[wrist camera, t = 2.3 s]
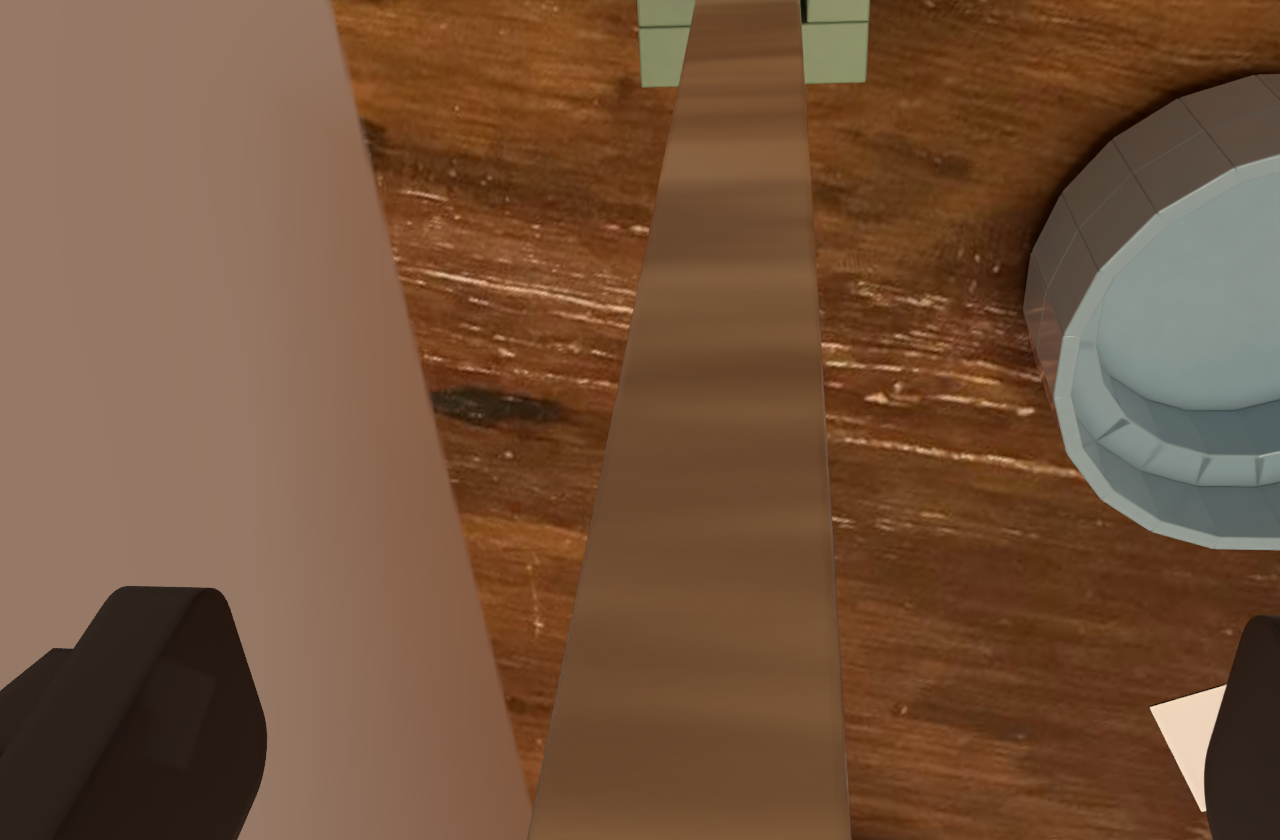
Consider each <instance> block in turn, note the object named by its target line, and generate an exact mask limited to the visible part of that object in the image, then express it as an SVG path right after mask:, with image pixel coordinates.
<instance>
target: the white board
mask: <svg viewBox="0 0 1280 840" xmlns="http://www.w3.org/2000/svg"><path fill="white" fill-rule="evenodd" d="M1226 686H1227V685H1224V686H1221V687H1217V688H1214V689H1210V690H1207V691H1204V692H1200V693H1197V694H1193V695H1190V696H1186V697H1183V698H1180V699H1176V700H1173V701H1169V702H1166V703H1162V704H1159V705H1156V706H1152V707H1149V708H1150V710H1151V712H1152V714H1153V716H1154V718H1155V720H1156V722H1157V724H1158V726H1159V728H1160V730H1161V732H1162V734H1163V736H1164V738H1165V740H1166V742H1167V744H1168V746H1169V748H1170V750H1171V752H1172V754H1173V756H1174V758H1175V760H1176V762H1177V764H1178V766H1179V768H1180V770H1181V772H1182V774H1183V776H1184V778H1185V780H1186V782H1187V784H1188V786H1189V788H1190V790H1191V792H1192V794H1193V796H1194V798H1195V800H1196V802H1197V804H1198V806H1199V808H1200V810H1201V812H1203V811H1206V804H1205V795H1204V767H1205V758H1206V753H1207V749H1208V745H1209V742H1210V739H1211V735H1212V732H1213V729H1214V725H1215V722H1216V719H1217V715H1218V712H1219V709H1220V705H1221V702H1222V699H1223V695H1224V692H1225V689H1226Z"/></svg>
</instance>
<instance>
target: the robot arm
mask: <svg viewBox="0 0 1280 840" xmlns="http://www.w3.org/2000/svg"><path fill="white" fill-rule="evenodd" d="M266 751H267V730H266V722H265V717H264V713H263V710H262V707H261V703H260V700H259V697H258V694H257V691H256V688H255V685H254V682H253V679H252V675H251V672H250V669H249V666H248V663H247V660H246V657H245V654H244V651H243V648H242V645H241V642H240V638H239V635H238V632H237V629H236V626H235V623H234V620H233V617H232V613H231V610H230V607H229V605H228V602H227V600H226V599H225V597H224V595H222V593H221V592H220V591H218V590H216V589H213V588H194V587H193V588H192V587H148V586H146V587H145V586H126V587H121V588H119V589H118V590H116V591H115V592H113V593H112V594H111V595H110V596H109V598H108V599H107V600H106V601H105V603H104V604H103V606H102V607H101V609H100V610H99V612H98V613H97V614H96V616H95V618H94V619H93V620H92V622H91V623H90V625H89V626H88V628H87V629H86V631H85V632H84V634H83V636H82V637H81V638H80V640H79V641H78V643H77V644H76V646H75V647H74V649H62V648H53V649H52V650H50V651H49V652H48V653H47V654H45V655H44V656H43V657H42V658H40V659H39V660H38V661H37V662H36V663H34V664H33V665H32V666H30V667H29V668H28V669H27V670H25V671H24V672H23V673H22V674H21V675H20V676H18V677H17V678H16V679H14V680H13V681H12V682H11V683H10V684H8V685H7V686H6V687H4V688H3V689H2V690H1V691H0V840H237V838H238V836H239V834H240V832H241V829H242V827H243V825H244V822H245V820H246V818H247V816H248V813H249V811H250V809H251V807H252V804H253V802H254V799H255V797H256V795H257V792H258V790H259V787H260V784H261V780H262V776H263V772H264V767H265V760H266ZM1204 795H1205V804H1206V811H1207V817H1208V822H1209V826H1210V830H1211V834H1212V837H1213V840H1280V616H1269V615H1259V616H1255V617H1253V618H1251V620H1250V621H1249V622H1248V623H1247V625H1246V627H1245V628H1244V631H1243V633H1242V636H1241V639H1240V642H1239V646H1238V649H1237V652H1236V656H1235V659H1234V662H1233V666H1232V669H1231V672H1230V676H1229V679H1228V682H1227V686H1226V689H1225V692H1224V695H1223V699H1222V702H1221V705H1220V709H1219V712H1218V715H1217V719H1216V722H1215V725H1214V729H1213V732H1212V735H1211V739H1210V742H1209V745H1208V749H1207V753H1206V758H1205V767H1204Z"/></svg>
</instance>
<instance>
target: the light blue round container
mask: <svg viewBox="0 0 1280 840" xmlns="http://www.w3.org/2000/svg"><path fill="white" fill-rule="evenodd" d="M1023 311H1024V313H1023V314H1024V318H1025V322H1026V326H1027V330H1028V335H1029V339H1030V343H1031V347H1032V351H1033V355H1034V359H1035V363H1036V366H1037V369H1038V372H1039V375H1040V378H1041V381H1042V384H1043V386H1044V389H1045V392H1046V395H1047V398H1048V401H1049V404H1050V407H1051V410H1052V413H1053V416H1054V419H1055V422H1056V425H1057V428H1058V431H1059V434H1060V436H1061V439H1062V442H1063V445H1064V448H1065V451H1066V453H1067V455H1068V457H1069V458H1070V459H1071V461H1072V462H1073V463H1074V465H1075V466H1076V467H1077V469H1078V470H1079V471H1080V473H1081V474H1082V475H1083V477H1084V478H1085V480H1086V481H1087V482H1088V484H1089V485H1090V486H1091V488H1092V489H1093V490H1094V492H1095V493H1096V494H1097V496H1098V497H1099V498H1100V499H1101V500H1102V501H1104V502H1105V503H1107V504H1109V505H1110V506H1112V507H1113V508H1115V509H1116V510H1118V511H1119V512H1121V513H1123V514H1124V515H1126V516H1127V517H1129V518H1130V519H1132V520H1133V521H1135V522H1137V523H1138V524H1140V525H1141V526H1143V527H1144V528H1146V529H1147V530H1149V531H1152V532H1154V533H1157V534H1161V535H1165V536H1168V537H1172V538H1175V539H1179V540H1183V541H1186V542H1190V543H1194V544H1197V545H1201V546H1204V547H1208V548H1212V549H1213V548H1214V549H1237V550H1280V74H1259V75H1257V76H1256V75H1252V76H1249V77H1245V78H1242V79H1239V80H1235V81H1232V82H1229V83H1226V84H1222V85H1219V86H1216V87H1213V88H1209V89H1206V90H1203V91H1200V92H1196V93H1193V94H1190V95H1187V96H1183V97H1181V98H1180V99H1176V100H1174V101H1173V102H1171V103H1169V104H1168V105H1166V106H1164V107H1163V108H1161V109H1160V110H1158V111H1156V112H1155V113H1153V114H1152V115H1150V116H1148V117H1147V118H1145V119H1143V120H1142V121H1140V122H1139V123H1137V124H1135V125H1134V126H1132V127H1131V128H1129V129H1127V130H1126V131H1124V132H1122V133H1121V134H1119V135H1118V136H1116V137H1114V138H1113V139H1112V141H1110V142H1109V143H1108V144H1107V145H1106V146H1105V147H1104V148H1103V149H1102V150H1101V151H1100V152H1099V153H1098V154H1097V155H1096V156H1095V158H1094V159H1093V160H1092V161H1091V162H1090V163H1089V164H1088V165H1087V166H1086V167H1085V168H1084V169H1083V170H1082V171H1081V172H1080V173H1079V174H1078V176H1077V177H1076V178H1075V179H1074V180H1073V181H1072V182H1071V183H1070V184H1069V185H1068V186H1067V187H1066V188H1065V189H1064V190H1063V192H1062V194H1061V195H1060V196H1059V198H1058V200H1057V202H1056V204H1055V206H1054V208H1053V210H1052V212H1051V214H1050V216H1049V218H1048V220H1047V222H1046V224H1045V226H1044V228H1043V230H1042V232H1041V234H1040V236H1039V238H1038V240H1037V242H1036V244H1035V246H1034V248H1033V250H1032V253H1031V254H1030V262H1029V269H1028V276H1027V283H1026V291H1025V298H1024V305H1023Z"/></svg>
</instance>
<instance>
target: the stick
mask: <svg viewBox="0 0 1280 840" xmlns="http://www.w3.org/2000/svg"><path fill="white" fill-rule="evenodd" d="M527 840H852V838H851V821H850V805H849V789H848V773H847V756H846V740H845V724H844V707H843V691H842V675H841V659H840V642H839V626H838V610H837V593H836V577H835V561H834V545H833V528H832V512H831V496H830V479H829V463H828V447H827V431H826V414H825V398H824V382H823V365H822V349H821V333H820V317H819V300H818V284H817V268H816V251H815V235H814V219H813V203H812V186H811V170H810V154H809V137H808V121H807V105H806V89H805V72H804V56H803V40H802V23H801V7H800V0H696V1H695V6H694V11H693V16H692V21H691V25H690V30H689V35H688V40H687V45H686V50H685V55H684V60H683V65H682V70H681V75H680V80H679V85H678V90H677V95H676V100H675V105H674V110H673V115H672V120H671V125H670V130H669V135H668V140H667V145H666V150H665V155H664V160H663V165H662V170H661V175H660V180H659V185H658V190H657V195H656V200H655V205H654V210H653V215H652V220H651V225H650V230H649V235H648V240H647V245H646V250H645V255H644V260H643V265H642V270H641V275H640V280H639V285H638V290H637V295H636V300H635V304H634V309H633V314H632V319H631V324H630V329H629V334H628V339H627V344H626V349H625V354H624V359H623V364H622V369H621V374H620V379H619V384H618V389H617V394H616V399H615V404H614V409H613V414H612V419H611V424H610V429H609V434H608V439H607V444H606V449H605V454H604V459H603V464H602V469H601V474H600V479H599V484H598V489H597V494H596V499H595V504H594V509H593V514H592V519H591V524H590V529H589V534H588V539H587V544H586V549H585V554H584V559H583V564H582V569H581V574H580V579H579V583H578V588H577V593H576V598H575V603H574V608H573V613H572V618H571V623H570V628H569V633H568V638H567V643H566V648H565V653H564V658H563V663H562V668H561V673H560V678H559V683H558V688H557V693H556V698H555V703H554V708H553V713H552V718H551V723H550V728H549V733H548V738H547V743H546V748H545V753H544V758H543V763H542V768H541V773H540V778H539V783H538V788H537V793H536V798H535V803H534V808H533V813H532V818H531V823H530V828H529V833H528V838H527Z"/></svg>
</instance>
